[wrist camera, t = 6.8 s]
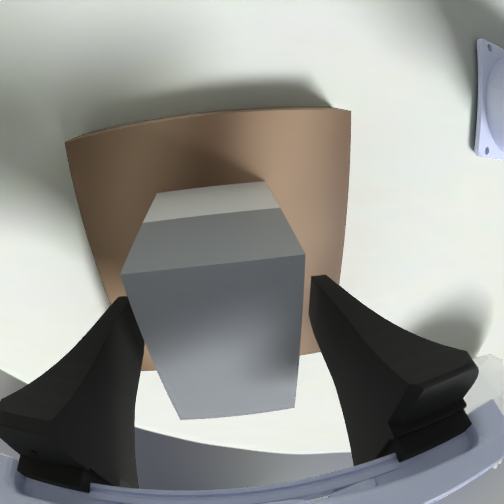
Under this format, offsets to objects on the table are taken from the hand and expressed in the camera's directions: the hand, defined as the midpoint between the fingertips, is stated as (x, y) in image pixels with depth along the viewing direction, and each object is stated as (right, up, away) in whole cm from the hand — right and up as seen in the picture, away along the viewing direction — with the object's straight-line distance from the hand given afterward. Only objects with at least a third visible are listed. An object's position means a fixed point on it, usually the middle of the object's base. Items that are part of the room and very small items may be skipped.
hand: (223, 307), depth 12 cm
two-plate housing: (0, +2, +2) cm, 3 cm away
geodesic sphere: (+24, -12, +16) cm, 32 cm away
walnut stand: (-1, +2, +4) cm, 5 cm away
